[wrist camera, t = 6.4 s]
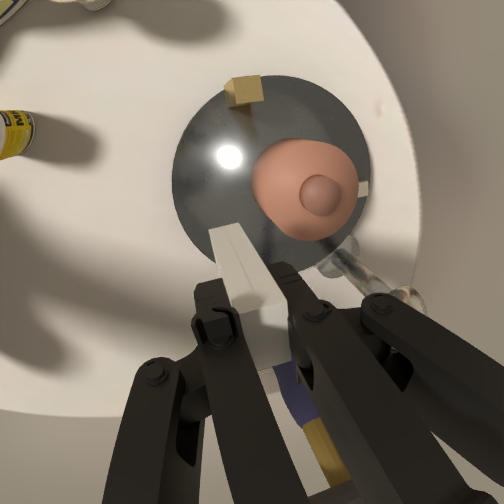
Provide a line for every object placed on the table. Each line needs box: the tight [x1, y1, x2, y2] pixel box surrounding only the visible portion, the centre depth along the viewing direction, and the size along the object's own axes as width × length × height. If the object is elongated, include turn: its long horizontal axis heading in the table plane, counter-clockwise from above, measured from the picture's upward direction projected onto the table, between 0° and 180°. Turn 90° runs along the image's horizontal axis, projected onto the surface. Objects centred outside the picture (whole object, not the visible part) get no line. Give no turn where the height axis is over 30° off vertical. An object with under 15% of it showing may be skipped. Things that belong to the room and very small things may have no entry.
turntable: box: [172, 75, 370, 272], centre depth 24 cm, size 20×20×6 cm
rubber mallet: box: [273, 352, 365, 504], centre depth 24 cm, size 12×8×30 cm, turn 89°
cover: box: [250, 138, 359, 241], centre depth 22 cm, size 8×8×6 cm
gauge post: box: [315, 235, 427, 316], centre depth 27 cm, size 6×6×16 cm
